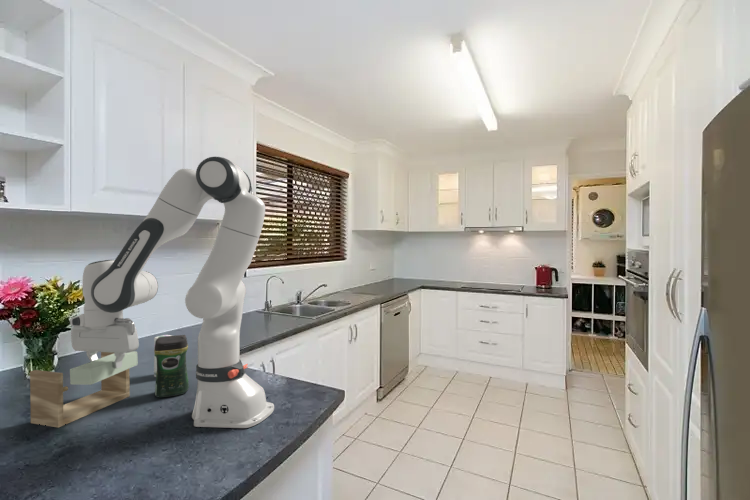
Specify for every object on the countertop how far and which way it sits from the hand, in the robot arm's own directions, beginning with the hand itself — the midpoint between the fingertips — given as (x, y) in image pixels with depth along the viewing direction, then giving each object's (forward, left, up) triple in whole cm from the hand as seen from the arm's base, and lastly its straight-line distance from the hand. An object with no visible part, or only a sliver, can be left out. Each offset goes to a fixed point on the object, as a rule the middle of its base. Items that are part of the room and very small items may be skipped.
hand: (106, 366), depth 104 cm
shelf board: (0, 0, -2) cm, 2 cm away
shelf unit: (+11, -2, -14) cm, 17 cm away
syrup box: (+10, -31, -14) cm, 35 cm away
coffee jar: (-5, -18, -14) cm, 23 cm away
